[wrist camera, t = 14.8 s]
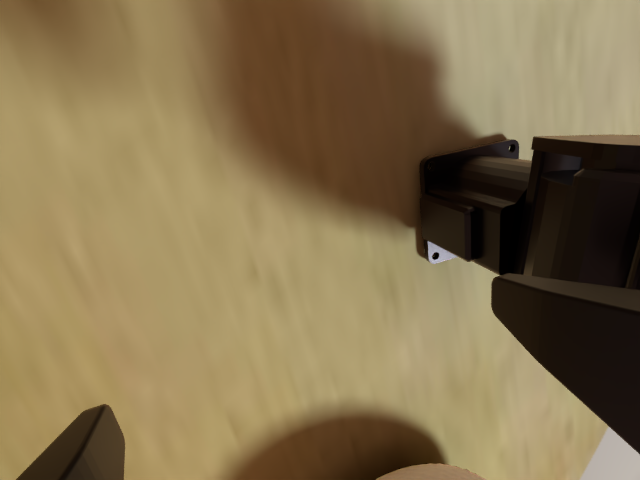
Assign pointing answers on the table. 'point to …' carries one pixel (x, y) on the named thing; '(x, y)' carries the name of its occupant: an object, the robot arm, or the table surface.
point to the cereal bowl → (431, 473)
